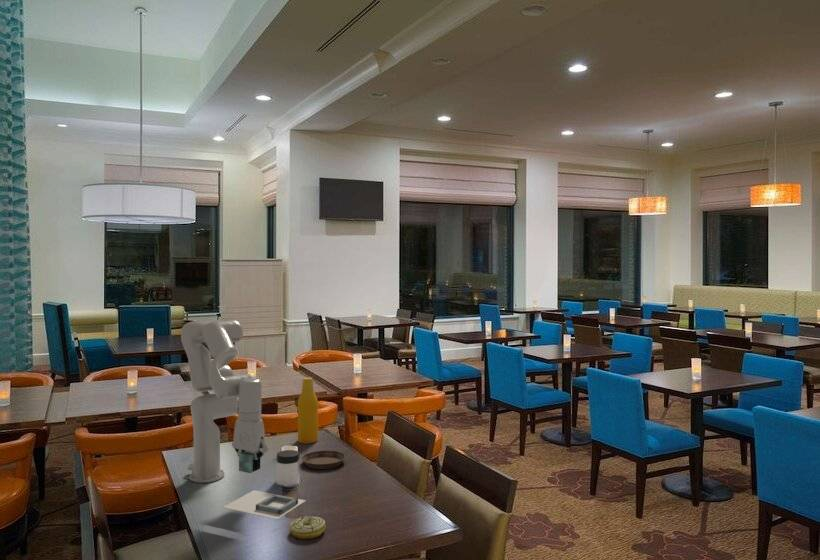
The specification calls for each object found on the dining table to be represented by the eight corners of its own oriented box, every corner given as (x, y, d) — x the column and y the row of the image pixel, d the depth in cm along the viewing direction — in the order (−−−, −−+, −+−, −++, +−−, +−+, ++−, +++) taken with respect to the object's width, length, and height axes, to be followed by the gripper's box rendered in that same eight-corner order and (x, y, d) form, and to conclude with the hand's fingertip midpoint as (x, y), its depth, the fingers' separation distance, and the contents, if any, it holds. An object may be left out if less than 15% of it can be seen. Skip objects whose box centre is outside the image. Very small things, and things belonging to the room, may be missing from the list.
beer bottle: (307, 436, 280) (307, 375, 279) (322, 440, 274) (322, 377, 273) (293, 441, 272) (293, 378, 271) (307, 445, 267) (307, 381, 266)
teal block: (238, 470, 199) (238, 453, 199) (248, 466, 204) (248, 448, 204) (250, 473, 197) (250, 455, 197) (260, 468, 202) (260, 451, 202)
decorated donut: (300, 523, 187) (300, 511, 187) (331, 528, 184) (331, 516, 184) (283, 537, 178) (283, 525, 177) (315, 543, 174) (315, 530, 174)
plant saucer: (308, 456, 252) (308, 449, 252) (349, 457, 251) (349, 450, 251) (296, 470, 235) (296, 463, 235) (340, 472, 233) (340, 464, 233)
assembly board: (222, 511, 195) (222, 502, 195) (253, 494, 210) (253, 486, 210) (277, 523, 187) (277, 514, 186) (306, 504, 201) (306, 496, 201)
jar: (280, 491, 213) (280, 458, 212) (272, 484, 219) (272, 452, 219) (303, 486, 218) (303, 454, 217) (295, 479, 224) (295, 448, 224)
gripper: (222, 415, 200) (222, 468, 201) (263, 421, 193) (263, 476, 194) (237, 409, 207) (237, 461, 208) (277, 416, 200) (277, 469, 201)
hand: (249, 468), depth 201 cm, fingers closed on teal block, 5 cm apart
